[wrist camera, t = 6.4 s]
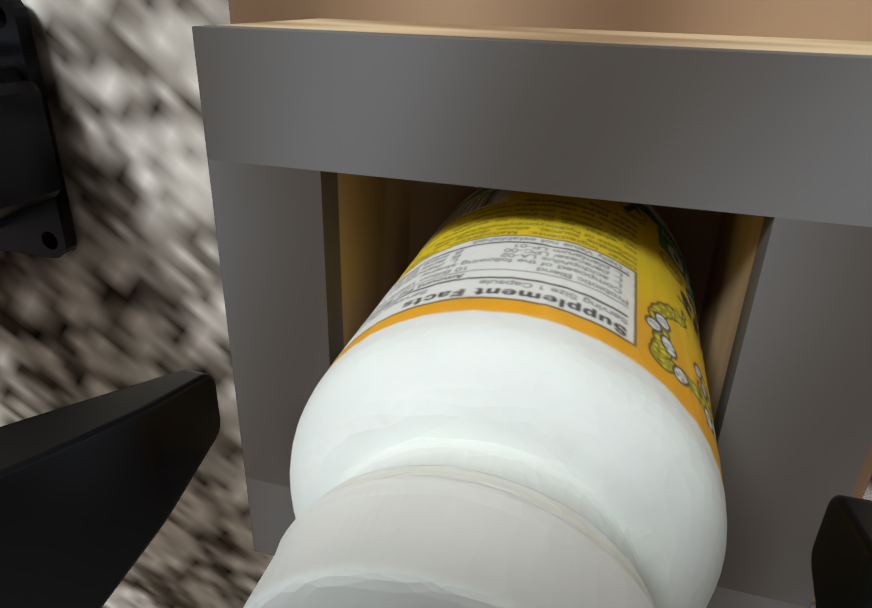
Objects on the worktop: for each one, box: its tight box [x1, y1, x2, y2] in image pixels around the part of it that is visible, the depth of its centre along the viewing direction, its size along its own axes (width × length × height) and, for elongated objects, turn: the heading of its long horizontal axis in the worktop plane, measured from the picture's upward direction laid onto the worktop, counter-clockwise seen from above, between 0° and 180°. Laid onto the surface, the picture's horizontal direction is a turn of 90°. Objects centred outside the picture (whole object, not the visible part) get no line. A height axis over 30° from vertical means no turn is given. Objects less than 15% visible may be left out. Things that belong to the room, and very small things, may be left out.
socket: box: [192, 0, 872, 608], centre depth 13 cm, size 14×14×5 cm
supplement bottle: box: [243, 187, 727, 608], centre depth 10 cm, size 5×5×10 cm
